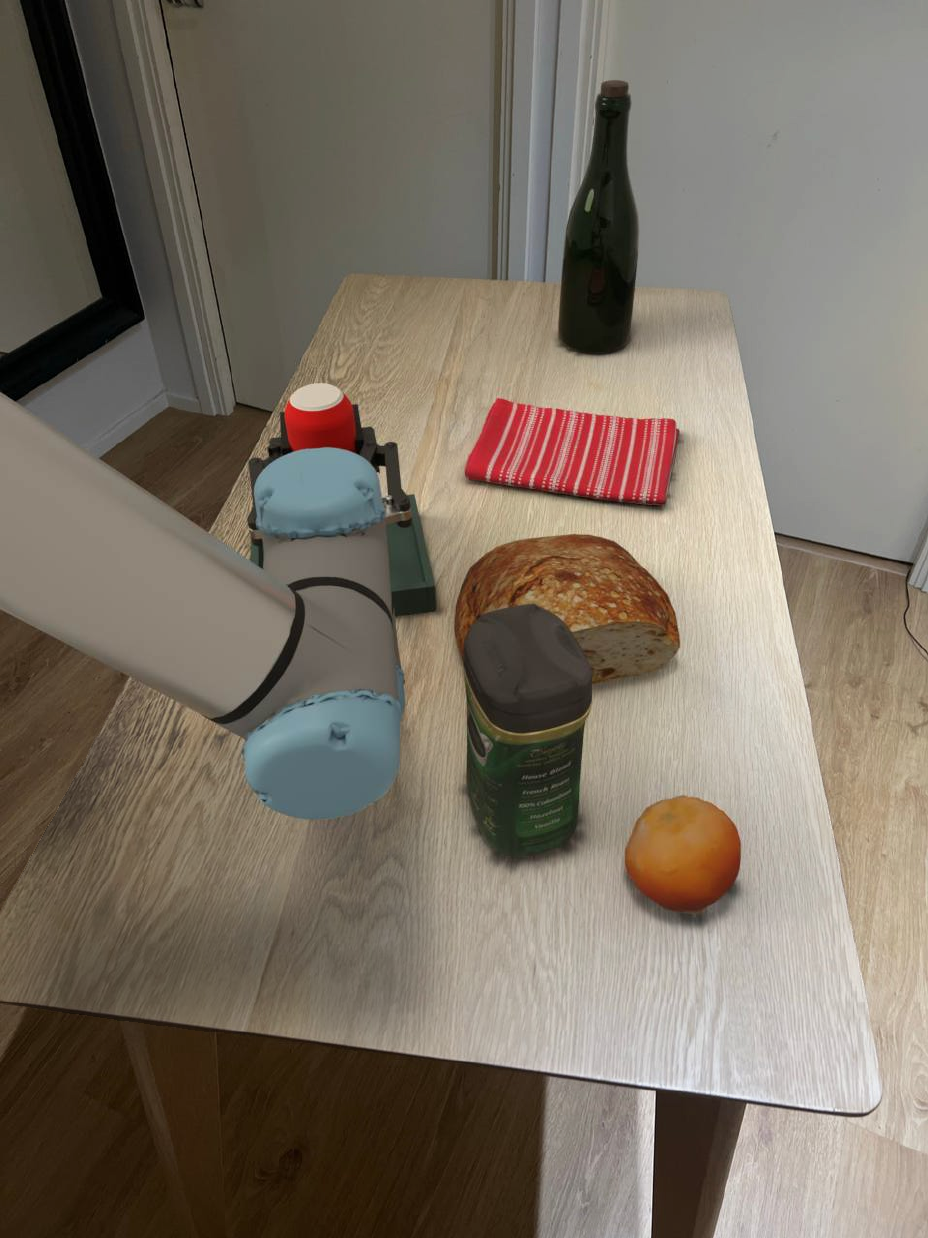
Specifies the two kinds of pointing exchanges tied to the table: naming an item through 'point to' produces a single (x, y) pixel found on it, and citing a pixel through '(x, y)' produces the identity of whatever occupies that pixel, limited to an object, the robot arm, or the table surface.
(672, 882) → the fruit
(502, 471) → the dish towel
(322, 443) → the beverage can
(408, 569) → the drinks tray
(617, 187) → the wine bottle
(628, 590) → the bread
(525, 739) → the coffee jar
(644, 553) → the table surface
